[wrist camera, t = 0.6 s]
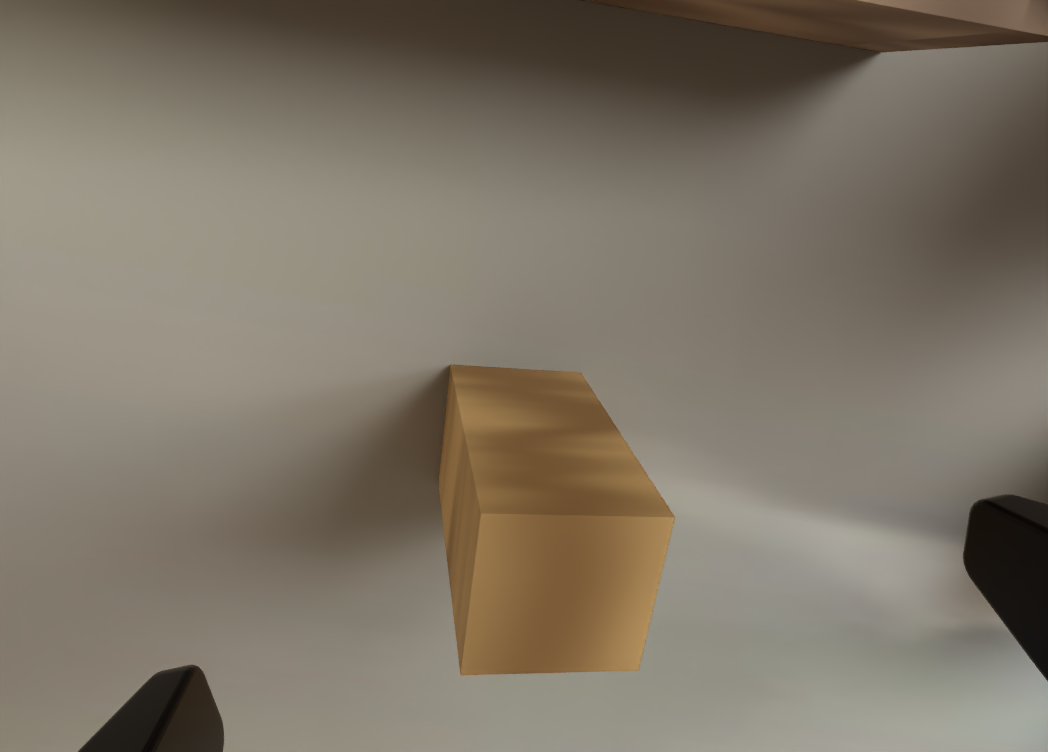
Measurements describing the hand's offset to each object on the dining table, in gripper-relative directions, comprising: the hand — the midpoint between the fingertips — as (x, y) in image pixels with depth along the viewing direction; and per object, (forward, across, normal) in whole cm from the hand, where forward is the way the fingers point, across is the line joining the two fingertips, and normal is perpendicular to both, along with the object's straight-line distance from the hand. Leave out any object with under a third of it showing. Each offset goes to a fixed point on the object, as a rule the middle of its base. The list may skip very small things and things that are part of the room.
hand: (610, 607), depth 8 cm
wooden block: (+14, 0, +4) cm, 14 cm away
